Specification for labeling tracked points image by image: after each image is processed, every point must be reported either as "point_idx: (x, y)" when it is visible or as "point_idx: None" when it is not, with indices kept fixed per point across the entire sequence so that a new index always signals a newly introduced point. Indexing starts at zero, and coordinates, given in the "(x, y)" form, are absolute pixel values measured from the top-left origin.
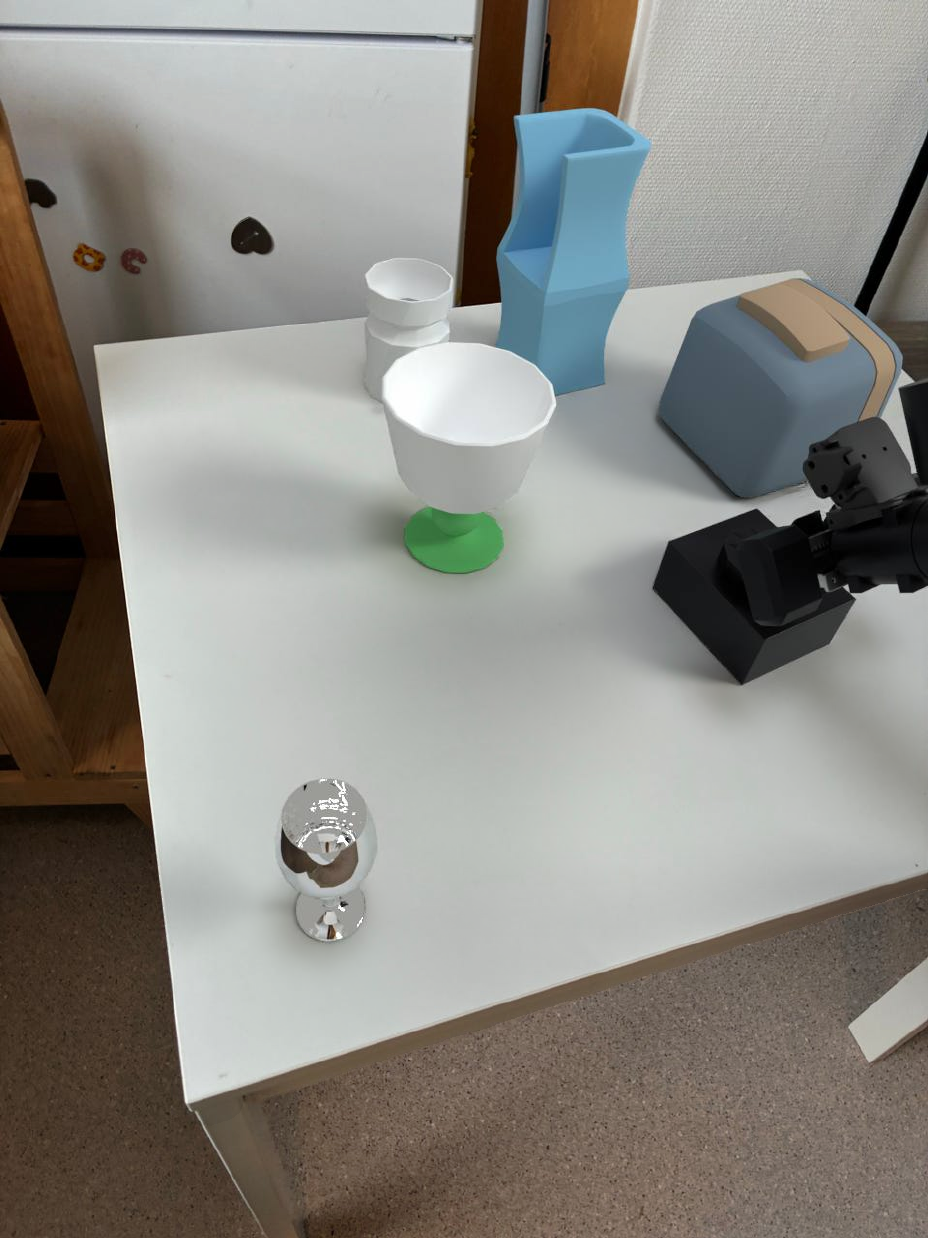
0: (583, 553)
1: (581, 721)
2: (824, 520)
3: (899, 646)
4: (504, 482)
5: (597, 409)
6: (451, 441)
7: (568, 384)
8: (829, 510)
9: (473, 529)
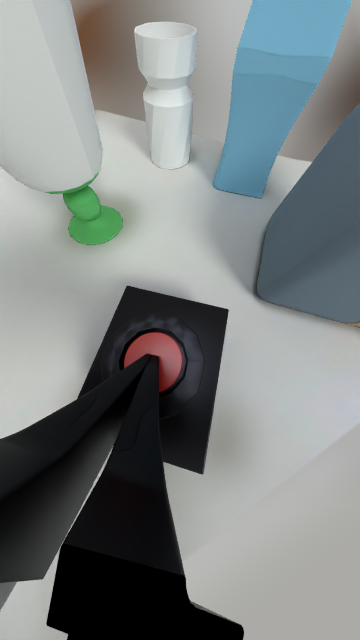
0: (136, 267)
1: (12, 347)
2: (91, 493)
3: (243, 485)
4: None
5: (240, 207)
6: None
7: (238, 186)
8: (62, 545)
9: (84, 218)
